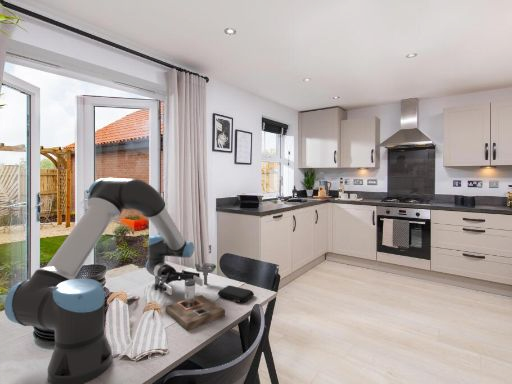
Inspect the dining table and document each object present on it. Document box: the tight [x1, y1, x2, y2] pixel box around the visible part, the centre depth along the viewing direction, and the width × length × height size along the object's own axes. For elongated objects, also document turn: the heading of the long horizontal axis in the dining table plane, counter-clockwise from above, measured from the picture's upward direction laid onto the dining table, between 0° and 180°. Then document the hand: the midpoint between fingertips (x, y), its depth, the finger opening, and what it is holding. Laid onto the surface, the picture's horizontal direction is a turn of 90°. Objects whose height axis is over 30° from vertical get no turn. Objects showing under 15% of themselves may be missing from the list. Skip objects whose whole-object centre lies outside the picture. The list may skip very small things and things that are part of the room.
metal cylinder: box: [184, 279, 196, 308], centre depth 113 cm, size 4×4×12 cm
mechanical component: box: [194, 262, 217, 286], centre depth 140 cm, size 3×10×10 cm, turn 78°
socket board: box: [165, 294, 226, 331], centre depth 110 cm, size 16×17×3 cm
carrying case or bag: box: [217, 285, 255, 304], centre depth 126 cm, size 11×3×15 cm
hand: (187, 287), depth 115 cm, fingers open, 13 cm apart
